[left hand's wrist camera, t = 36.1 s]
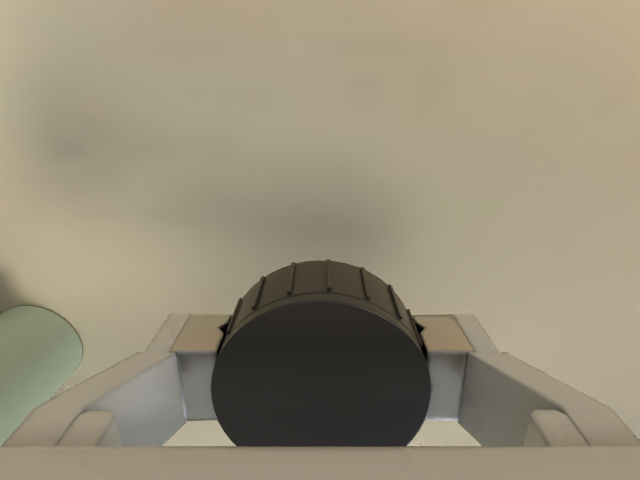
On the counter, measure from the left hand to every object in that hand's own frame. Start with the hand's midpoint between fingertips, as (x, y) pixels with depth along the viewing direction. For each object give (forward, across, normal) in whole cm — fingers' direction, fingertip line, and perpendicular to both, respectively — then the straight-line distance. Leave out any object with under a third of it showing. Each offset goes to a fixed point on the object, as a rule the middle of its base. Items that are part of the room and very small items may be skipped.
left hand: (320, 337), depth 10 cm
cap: (-2, 0, 0) cm, 2 cm away
